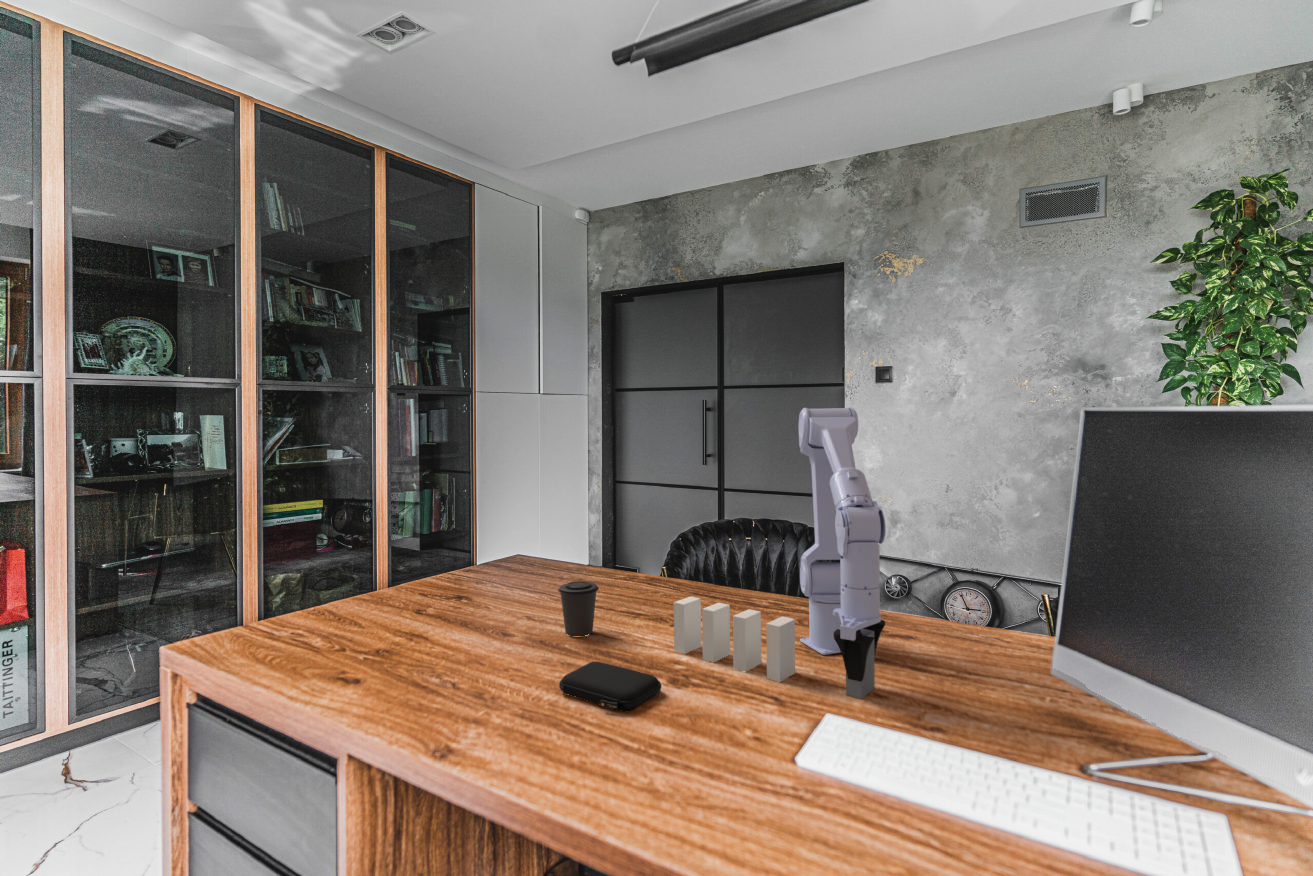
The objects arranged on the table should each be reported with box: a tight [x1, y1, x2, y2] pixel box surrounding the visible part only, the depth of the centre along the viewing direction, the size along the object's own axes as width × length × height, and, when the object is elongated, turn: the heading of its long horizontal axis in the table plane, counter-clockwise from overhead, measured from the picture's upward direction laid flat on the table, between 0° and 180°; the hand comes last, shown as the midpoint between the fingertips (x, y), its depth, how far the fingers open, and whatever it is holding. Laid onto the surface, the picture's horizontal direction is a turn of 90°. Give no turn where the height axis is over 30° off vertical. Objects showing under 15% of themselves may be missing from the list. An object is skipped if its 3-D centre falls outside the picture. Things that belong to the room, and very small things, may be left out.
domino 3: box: [732, 608, 762, 673], centre depth 107 cm, size 2×5×9 cm, turn 139°
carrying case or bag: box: [558, 661, 662, 712], centre depth 97 cm, size 11×3×15 cm
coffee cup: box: [557, 580, 599, 636], centre depth 125 cm, size 8×8×10 cm
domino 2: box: [701, 602, 731, 663], centre depth 111 cm, size 2×5×9 cm, turn 139°
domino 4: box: [765, 615, 796, 683], centre depth 103 cm, size 2×5×9 cm, turn 139°
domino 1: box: [673, 596, 702, 655], centre depth 116 cm, size 2×5×9 cm, turn 139°
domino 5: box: [845, 629, 876, 700], centre depth 96 cm, size 2×5×9 cm, turn 139°
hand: (860, 672), depth 96 cm, fingers closed on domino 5, 5 cm apart
